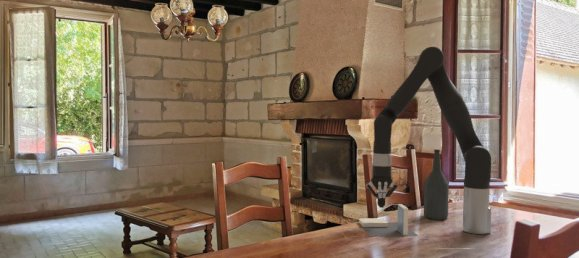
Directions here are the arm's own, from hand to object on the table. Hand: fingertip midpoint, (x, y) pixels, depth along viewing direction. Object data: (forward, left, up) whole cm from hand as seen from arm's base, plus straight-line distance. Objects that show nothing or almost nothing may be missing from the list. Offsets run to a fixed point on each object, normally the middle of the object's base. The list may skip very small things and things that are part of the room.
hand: (381, 207), depth 188 cm
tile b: (-5, +12, -7) cm, 15 cm away
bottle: (-28, -15, -8) cm, 33 cm away
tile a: (-2, 0, -6) cm, 6 cm away
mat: (-1, +7, -8) cm, 10 cm away
